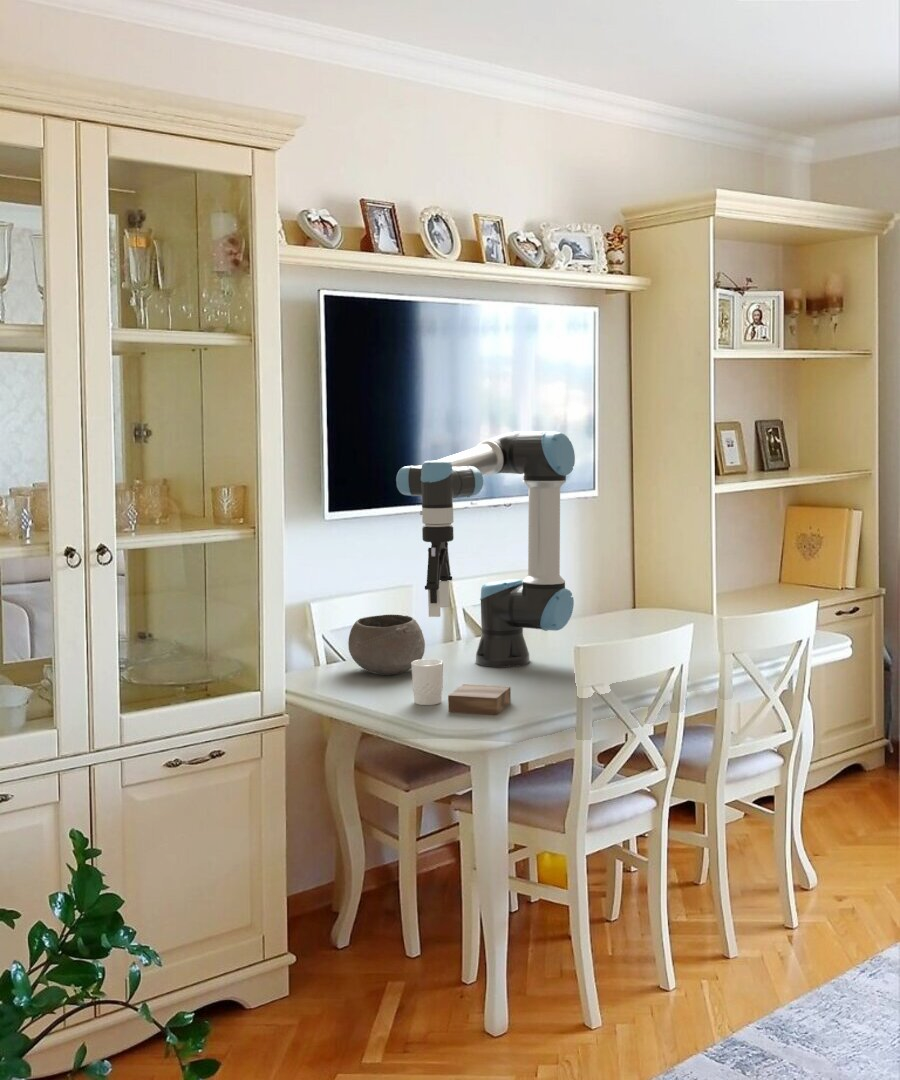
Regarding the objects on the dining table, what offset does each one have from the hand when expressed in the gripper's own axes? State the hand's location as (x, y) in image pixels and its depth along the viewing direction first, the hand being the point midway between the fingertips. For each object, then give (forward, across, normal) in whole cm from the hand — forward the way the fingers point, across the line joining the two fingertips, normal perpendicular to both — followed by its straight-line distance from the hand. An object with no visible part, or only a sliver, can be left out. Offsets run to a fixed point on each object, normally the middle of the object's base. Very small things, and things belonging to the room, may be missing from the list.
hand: (439, 611), depth 305 cm
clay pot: (+23, -33, -21) cm, 45 cm away
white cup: (+23, -1, -3) cm, 23 cm away
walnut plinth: (+23, +3, +10) cm, 25 cm away
